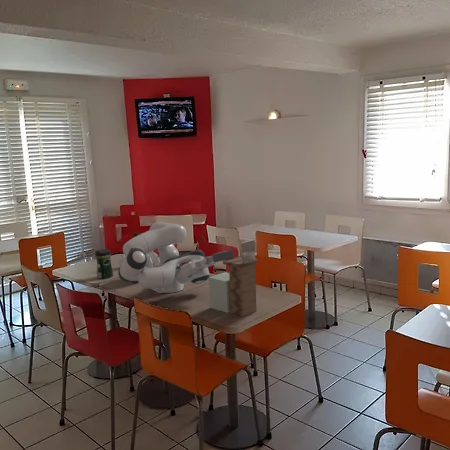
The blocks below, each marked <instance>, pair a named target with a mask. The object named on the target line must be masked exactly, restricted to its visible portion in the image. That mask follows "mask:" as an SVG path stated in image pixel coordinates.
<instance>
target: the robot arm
mask: <svg viewBox="0 0 450 450" xmlns="http://www.w3.org/2000/svg"><path fill="white" fill-rule="evenodd" d="M187 236H188V235H187V228H186V227H185V226H183V225H180V224H178V223H171V222H164V221H158V222H154V223H152V224H151V226H150V227H149V230H147V231H145V232H142V233H139V235H138V236H136V237H134V236H133V237H132V238H131V239H129V240H128V241H126V242H125V243H124V244H123V246H122V253H123V255H125V256H126V257H125V259H124V260H123V262H122V264H121V265H119V267H118V273H117V274H118V277H119V279H120V280H122V281H123V282H125V283H132V284H137V283H138V285H139V286H140V287H141V288H143V289H150V290H152V291H154V292H156V293H157V294H162V293H163V294H164V293H166V294H167V293H171V294H172V293H176V292H180V291H183V290H184V288H185V287H184V286H185V284H187V283H192V284H197V285H198V284H202V283H204V282H206V281H207V280H209V277H211V276H210V275H211V274H210V271H209V267H212V266H214V265H216V264H217V263H219V262H220V261H218V262H211V263H206V262H208V259H207V258H206V259H204V258H205V257H206V253H205V252H204V251H202V250H201V249H193V250H192V251H190V252H186V253H183V254H180V252H179V250H178V249H177V247H175V244H181V243H183V242H184V241H185V240H186V239H187ZM155 250H157V251H158V253H159V254H158V257H159V260H160V266H158V267H155V268H148V267H145V266H146V263H147V256H146V254H148V253H150V252H152V251H153V252H154V251H155ZM186 262H187V263H186ZM183 263H185V264H183ZM181 264H182V265H181Z"/></svg>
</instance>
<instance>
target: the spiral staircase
mask: <svg viewBox="0 0 450 450" xmlns="http://www.w3.org/2000/svg"><path fill="white" fill-rule="evenodd" d="M146 256H147V263H146V266H145V267H148V268H155V267H158V266H160V256H159V254H157V253H156V252H154V251H152V252H150V253H148V254H146ZM125 257H126V256H125V255H124V254H123V255H122V256H121V257H120V256H119V257H118V261H117V264H118V265H119V266H121V264H122V262H123V260H124V259H125Z"/></svg>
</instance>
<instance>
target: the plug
mask: <svg viewBox="0 0 450 450" xmlns="http://www.w3.org/2000/svg"><path fill="white" fill-rule="evenodd" d="M206 258H207V259H208V262H206V263H211V262H218V261H219V262H223V261H225V260H229V259H232V258H235V254H234V250H233V249H231V250H224V251H220V252H216V253H212V254H211V255H210V256H205V258H204V259H206ZM219 262H218V263H219Z"/></svg>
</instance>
